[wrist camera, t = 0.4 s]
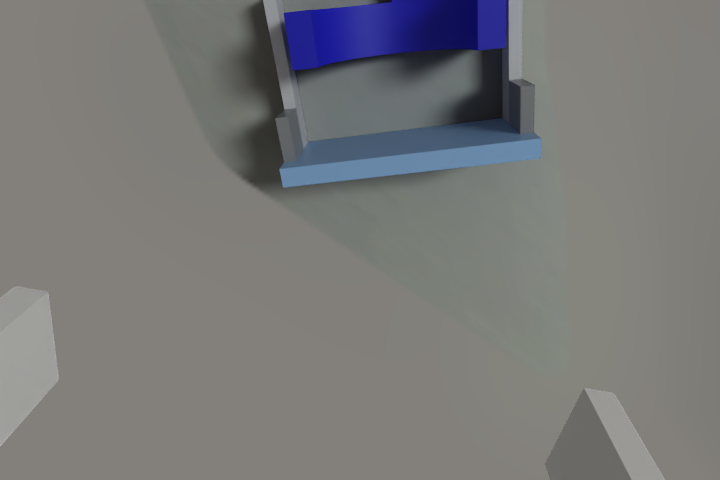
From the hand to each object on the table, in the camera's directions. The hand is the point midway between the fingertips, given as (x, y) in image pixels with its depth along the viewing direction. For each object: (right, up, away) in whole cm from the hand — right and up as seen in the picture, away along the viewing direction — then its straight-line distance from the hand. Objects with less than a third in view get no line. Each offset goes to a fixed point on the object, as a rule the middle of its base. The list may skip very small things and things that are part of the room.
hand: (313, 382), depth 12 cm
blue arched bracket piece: (+3, +18, +20) cm, 27 cm away
